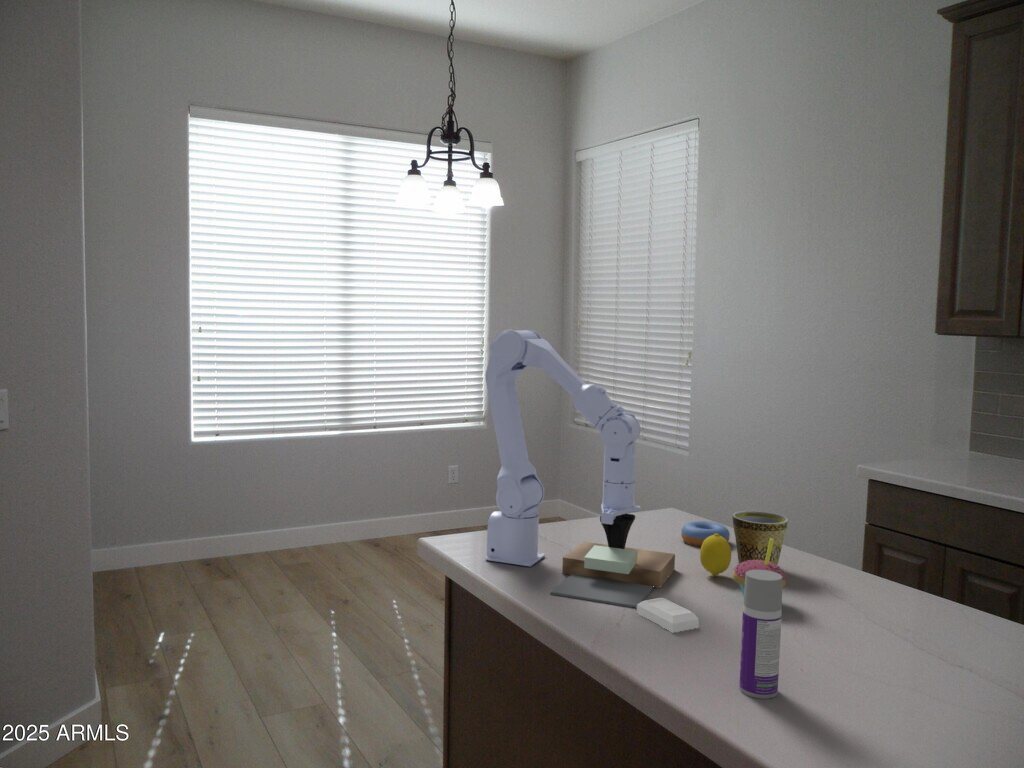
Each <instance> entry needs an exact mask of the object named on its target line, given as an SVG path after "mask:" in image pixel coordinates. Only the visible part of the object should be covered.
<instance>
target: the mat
mask: <svg viewBox="0 0 1024 768" xmlns="http://www.w3.org/2000/svg"><path fill="white" fill-rule="evenodd" d="M652 588H653V586H649V585H642V584H636V583H629V582H623V581H616V580H609V579H603V578H596V577H590V576H583V575H577V574H571V575H569V576H567V577H566V578H565V579H564V580H562V581H561V582H560V583H559V584H558V585H557V586H555V587H554V588H552V589H551V591H550V592H549V593H550V595H555V596H560V597H564V598H565V597H566V598H572V599H577V600H584V601H589V602H597V603H601V602H602V603H603V604H607V603H609V604H608V605H613V604H616V605H615V606H620V605H621V607H626V606H627V607H628V608H632V607H635V608H634V609H637V604H639V603H640V602H642V601H643V600H645V599H646V598H647V597H648V596H649V594H650V593H651V592H652V591H653V589H654V588H653V589H652ZM651 590H652V591H651ZM650 591H651V592H650ZM649 592H650V593H649ZM648 593H649V594H648ZM647 595H648V596H647ZM646 596H647V597H646ZM645 597H646V598H645ZM644 598H645V599H644ZM602 603H601V604H602ZM627 607H626V608H627Z"/></svg>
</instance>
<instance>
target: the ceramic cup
mask: <svg viewBox="0 0 1024 768" xmlns="http://www.w3.org/2000/svg"><path fill="white" fill-rule="evenodd" d="M788 521H789V520H788V518H787V517H786V516H784V515H781V514H778V513H773V512H769V511H768V512H767V511H760V510H741V511H736V512H734V513H733V514H732V525H733V532H734V536H735V543H736V544H735V545H736V553H737V560H738V564H740V563H742V562H744V561H746V560H754V559H755V560H763V561H765V559H766V554H767V549H768V544H769V540H770V538H772V535H774V536H773V539H774V541H773V546H772V551H771V555H770V560H769V561H771V562H772V563H775V564H776V565H778V564H779V560H780V556H781V552H782V548H783V544H784V540H785V537H786V531H787V528H788ZM778 566H779V565H778Z"/></svg>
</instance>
